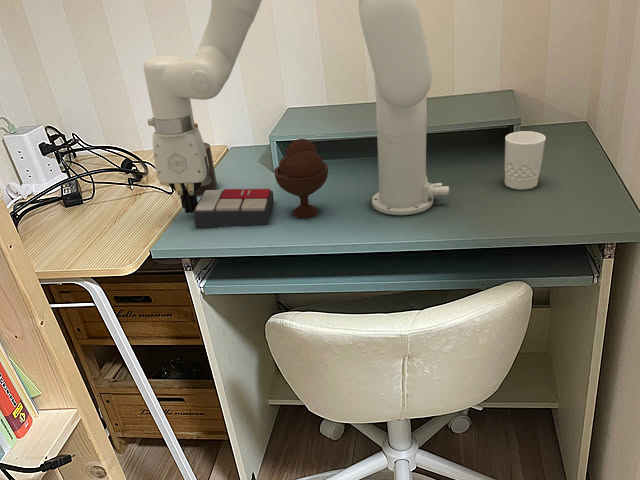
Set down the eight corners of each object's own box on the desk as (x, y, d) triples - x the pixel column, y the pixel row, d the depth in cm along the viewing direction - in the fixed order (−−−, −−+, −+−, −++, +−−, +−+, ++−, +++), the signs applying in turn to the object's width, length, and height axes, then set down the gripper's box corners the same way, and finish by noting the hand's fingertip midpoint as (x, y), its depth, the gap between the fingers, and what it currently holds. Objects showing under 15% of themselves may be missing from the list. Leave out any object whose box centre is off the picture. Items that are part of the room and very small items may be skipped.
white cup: (526, 194, 132) (530, 146, 126) (494, 185, 137) (497, 139, 132) (548, 182, 136) (553, 135, 130) (516, 174, 141) (520, 128, 136)
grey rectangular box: (266, 208, 128) (192, 208, 129) (268, 227, 130) (195, 227, 131) (272, 186, 137) (203, 187, 138) (274, 205, 139) (206, 205, 140)
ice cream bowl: (271, 210, 136) (262, 140, 128) (320, 198, 139) (314, 129, 131) (289, 228, 128) (280, 155, 119) (340, 215, 131) (335, 143, 123)
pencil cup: (220, 183, 152) (209, 117, 143) (213, 194, 146) (200, 126, 137) (192, 184, 153) (178, 118, 144) (183, 196, 147) (169, 128, 138)
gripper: (131, 131, 123) (151, 218, 134) (207, 128, 122) (221, 217, 132) (144, 119, 130) (162, 204, 140) (216, 117, 128) (229, 203, 138)
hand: (191, 210), depth 136 cm, fingers closed
